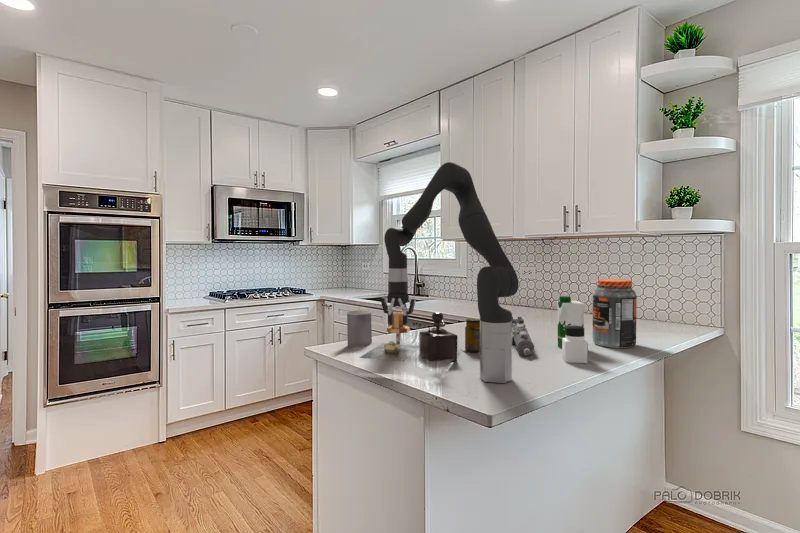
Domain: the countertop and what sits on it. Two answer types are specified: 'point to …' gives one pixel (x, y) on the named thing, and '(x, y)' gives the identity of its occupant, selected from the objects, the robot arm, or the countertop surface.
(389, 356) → the carrier
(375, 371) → the countertop surface
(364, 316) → the pillar candle
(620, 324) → the supplement tub
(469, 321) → the condiment
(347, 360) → the countertop surface
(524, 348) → the hydraulic cylinder
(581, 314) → the milk carton
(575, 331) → the medicine bottle
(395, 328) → the faceted vase
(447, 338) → the coffee grinder
